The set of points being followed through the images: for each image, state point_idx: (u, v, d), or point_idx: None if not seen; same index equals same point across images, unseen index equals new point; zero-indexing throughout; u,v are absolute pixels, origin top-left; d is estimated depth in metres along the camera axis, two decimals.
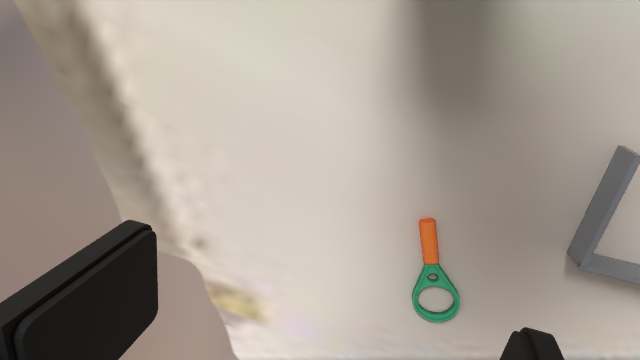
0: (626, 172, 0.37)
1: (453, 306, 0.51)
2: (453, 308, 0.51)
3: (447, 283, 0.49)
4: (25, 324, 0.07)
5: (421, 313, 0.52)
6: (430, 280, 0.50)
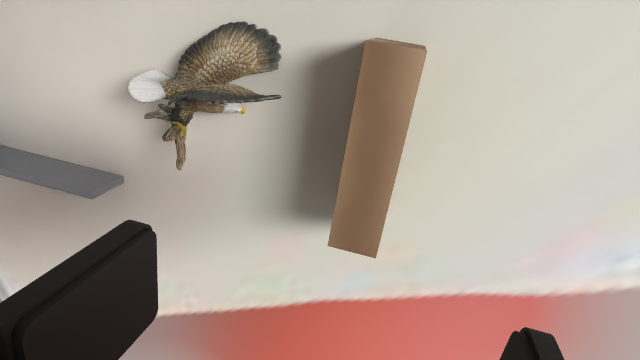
0: None
1: None
2: None
3: None
4: (25, 324, 0.07)
5: None
6: None
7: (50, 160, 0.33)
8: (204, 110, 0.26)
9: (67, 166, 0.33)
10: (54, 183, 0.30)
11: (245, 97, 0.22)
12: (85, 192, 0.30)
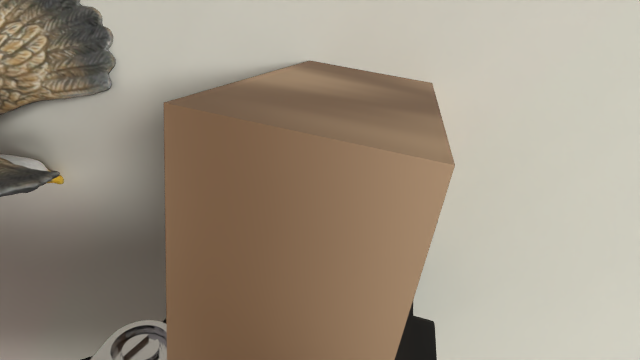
0: None
1: None
2: None
3: None
4: None
5: None
6: None
7: None
8: None
9: None
10: None
11: None
12: None
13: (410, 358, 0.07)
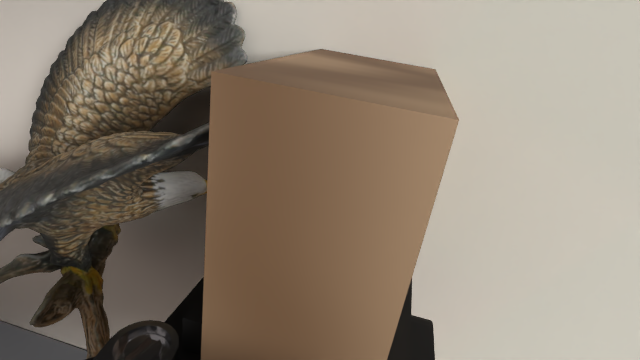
0: None
1: None
2: None
3: None
4: None
5: None
6: None
7: (5, 330, 0.17)
8: (110, 222, 0.10)
9: (36, 349, 0.17)
10: None
11: (127, 156, 0.06)
12: None
13: (408, 357, 0.07)
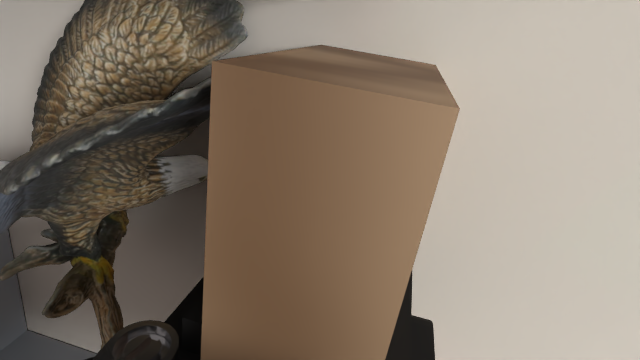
0: None
1: None
2: None
3: None
4: None
5: None
6: None
7: None
8: (118, 207, 0.10)
9: None
10: None
11: None
12: None
13: (408, 357, 0.07)
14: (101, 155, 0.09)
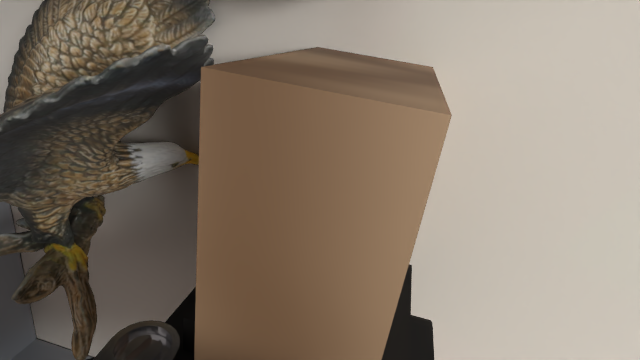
0: None
1: None
2: None
3: None
4: None
5: None
6: None
7: None
8: (88, 193, 0.10)
9: None
10: None
11: None
12: None
13: (407, 357, 0.07)
14: (64, 138, 0.09)
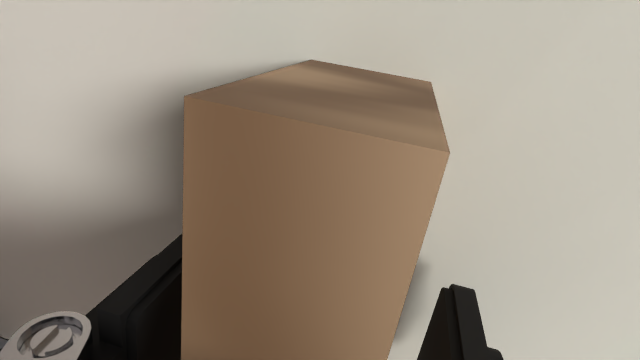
0: None
1: None
2: None
3: None
4: (137, 313, 0.07)
5: None
6: None
7: None
8: None
9: None
10: None
11: None
12: None
13: None
14: None
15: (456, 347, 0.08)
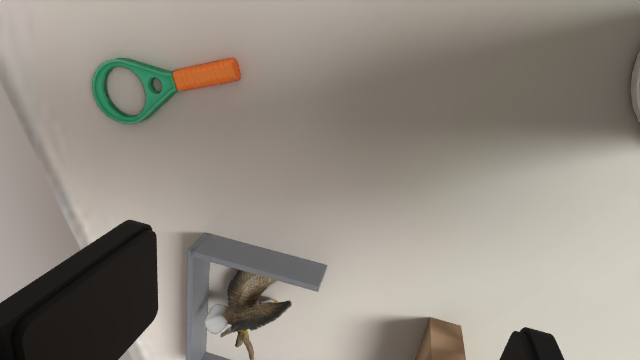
0: (300, 280, 0.36)
1: (124, 116, 0.37)
2: (121, 116, 0.37)
3: (153, 105, 0.36)
4: (25, 324, 0.07)
5: (98, 74, 0.36)
6: (150, 82, 0.35)
7: None
8: None
9: None
10: None
11: (271, 316, 0.35)
12: None
13: None
14: None
15: None
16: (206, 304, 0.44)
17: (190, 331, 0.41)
